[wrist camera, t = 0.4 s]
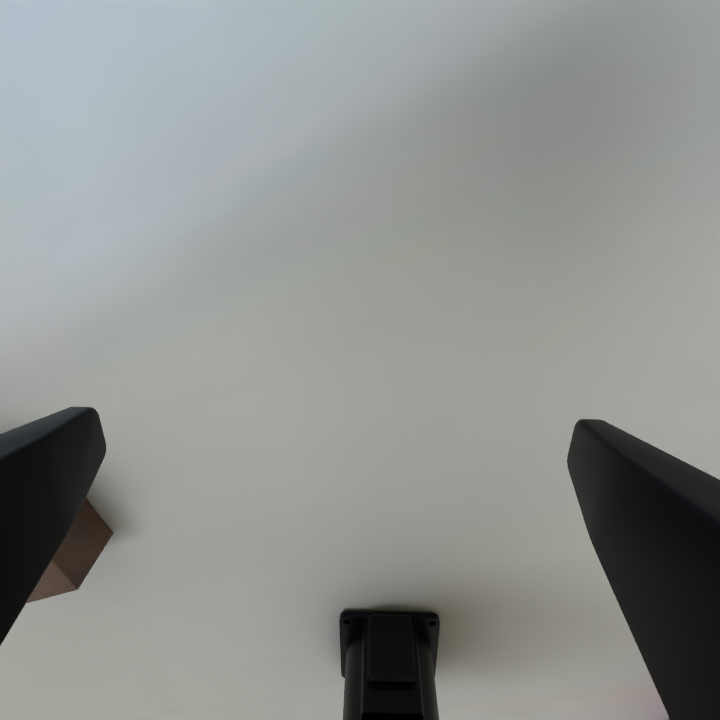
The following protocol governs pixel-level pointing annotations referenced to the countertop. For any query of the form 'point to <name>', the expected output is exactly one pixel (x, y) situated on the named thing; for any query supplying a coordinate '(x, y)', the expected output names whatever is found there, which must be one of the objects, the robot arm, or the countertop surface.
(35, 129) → the countertop surface
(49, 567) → the walnut block
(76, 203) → the countertop surface
